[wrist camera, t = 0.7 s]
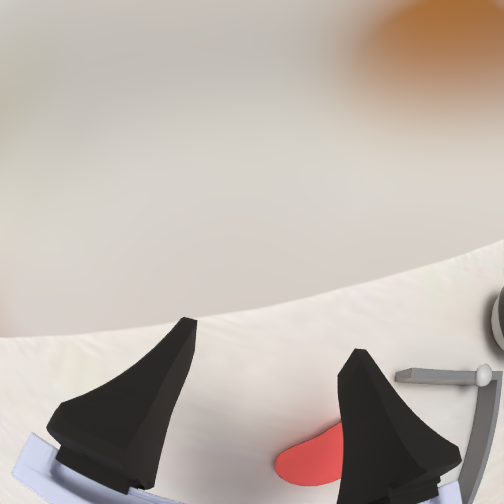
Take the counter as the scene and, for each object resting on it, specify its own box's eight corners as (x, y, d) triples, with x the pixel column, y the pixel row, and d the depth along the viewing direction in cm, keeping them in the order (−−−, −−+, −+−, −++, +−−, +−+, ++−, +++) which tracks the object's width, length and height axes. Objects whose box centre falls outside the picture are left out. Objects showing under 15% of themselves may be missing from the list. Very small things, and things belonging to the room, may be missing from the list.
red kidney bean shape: (360, 464, 19) (397, 445, 16) (283, 500, 16) (311, 494, 12) (340, 427, 23) (371, 402, 20) (264, 456, 20) (284, 439, 16)
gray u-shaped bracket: (450, 513, 11) (467, 520, 8) (349, 529, 14) (360, 544, 10) (485, 371, 21) (506, 364, 17) (397, 365, 23) (416, 359, 20)
